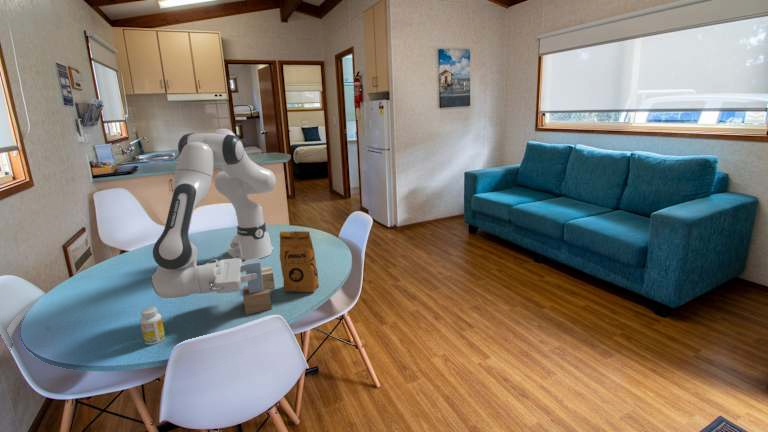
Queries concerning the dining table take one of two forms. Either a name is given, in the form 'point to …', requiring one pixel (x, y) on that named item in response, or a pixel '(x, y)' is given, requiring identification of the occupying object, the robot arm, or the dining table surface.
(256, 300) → the walnut block
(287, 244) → the coffee package
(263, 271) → the birch block
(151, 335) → the supplement bottle
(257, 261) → the slate block
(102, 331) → the dining table surface
